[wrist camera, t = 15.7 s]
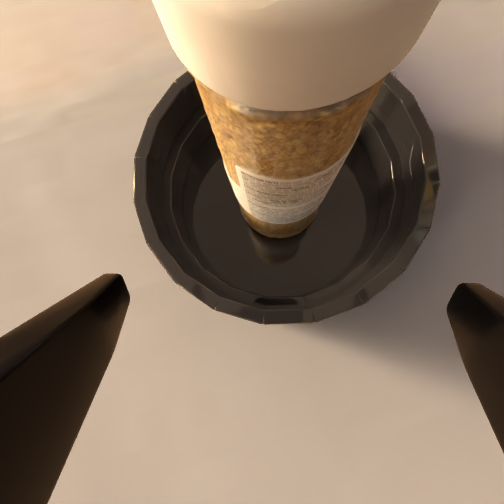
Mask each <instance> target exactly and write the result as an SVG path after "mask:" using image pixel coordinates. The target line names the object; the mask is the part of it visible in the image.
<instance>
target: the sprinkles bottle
mask: <svg viewBox="0 0 504 504" xmlns="http://www.w3.org/2000/svg"><path fill="white" fill-rule="evenodd" d="M152 1H153V3H154V6H155V8H156V11H157V13H158V15H159V18H160V20H161V22H162V25H163V27H164V30H165V32H166V34H167V37H168V39H169V41H170V44H171V46H172V48H173V50H174V51H175V53H176V54H177V56H178V58H179V59H180V60H181V61H182V63H183V64H184V65H185V66H186V68H187V70H188V72H189V73H190V74H191V75H192V76H193V77H194V78H195V82H196V85H197V87H198V90H199V93H200V96H201V98H202V101H203V104H204V109H205V111H206V114H207V116H208V119H209V121H210V124H211V127H212V131H213V133H214V135H215V137H216V141H217V145H218V147H219V149H220V152H221V155H222V158H223V163H224V166H225V170H226V172H227V175H228V178H229V180H230V183H231V186H232V188H233V191H234V193H235V196H236V198H237V199H238V201H239V205H240V210H241V213H242V216H243V218H244V219H245V220H246V222H247V223H248V225H249V226H251V227H252V228H253V229H254V230H255V231H257V232H259V233H260V234H263V235H264V236H267V237H270V238H288V237H291V236H294V235H297V234H299V233H300V232H302V231H303V230H304V229H306V228H307V227H308V226H309V225H310V224H311V223H312V221H313V220H314V218H315V216H316V215H317V212H318V209H319V205H320V204H321V203H322V201H323V199H324V198H325V196H326V194H327V192H328V190H329V189H330V187H331V185H332V183H333V181H334V180H335V178H336V176H337V174H338V172H339V170H340V169H341V167H342V165H343V163H344V161H345V159H346V158H347V156H348V154H349V152H350V150H351V148H352V147H353V145H354V143H355V141H356V139H357V136H358V134H359V131H360V129H361V126H362V123H363V121H364V119H365V117H366V115H367V113H368V110H369V108H370V107H371V105H372V103H373V101H374V99H375V97H376V95H377V93H378V91H379V89H380V87H381V85H382V84H383V82H384V81H385V78H386V76H387V74H388V73H389V72H391V71H392V70H393V69H394V68H395V67H396V66H397V65H398V64H399V63H400V62H401V60H402V59H403V58H404V57H405V56H406V55H407V54H408V53H409V51H410V50H411V48H412V47H413V45H414V44H415V43H416V41H417V40H418V38H419V36H420V35H421V33H422V31H423V29H424V28H425V26H426V24H427V23H428V21H429V19H430V17H431V16H432V14H433V12H434V10H435V9H436V7H437V5H438V3H439V2H440V0H152Z"/></svg>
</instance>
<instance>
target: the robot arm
mask: <svg viewBox="0 0 504 504" xmlns="http://www.w3.org/2000/svg"><path fill="white" fill-rule="evenodd" d="M129 302H130V295H129V292H128V290H127V287H126V284H125V282H124V279H123V277H122V276H121V275H120V274H104V275H102V276H100V277H99V278H97V279H95V280H94V281H92V282H90V283H89V284H87V285H86V286H84V287H82V288H81V289H79V290H77V291H76V292H74V293H72V294H71V295H69V296H68V297H66V298H64V299H63V300H61V301H59V302H58V303H56V304H54V305H53V306H51V307H49V308H48V309H46V310H45V311H43V312H41V313H40V314H38V315H36V316H35V317H33V318H31V319H30V320H28V321H27V322H25V323H23V324H22V325H20V326H18V327H17V328H15V329H13V330H12V331H10V332H9V333H7V334H5V335H4V336H2V337H0V504H47V503H48V501H49V499H50V496H51V494H52V492H53V490H54V487H55V485H56V483H57V480H58V478H59V476H60V474H61V471H62V469H63V467H64V465H65V462H66V460H67V458H68V455H69V453H70V451H71V449H72V446H73V444H74V442H75V439H76V437H77V435H78V433H79V430H80V428H81V426H82V423H83V421H84V419H85V417H86V414H87V412H88V410H89V407H90V405H91V403H92V401H93V398H94V396H95V394H96V392H97V389H98V387H99V385H100V382H101V380H102V378H103V376H104V373H105V371H106V369H107V366H108V364H109V362H110V360H111V357H112V355H113V352H114V350H115V347H116V344H117V341H118V338H119V334H120V331H121V328H122V325H123V322H124V318H125V315H126V312H127V309H128V306H129ZM447 315H448V318H449V321H450V324H451V327H452V330H453V333H454V336H455V339H456V342H457V345H458V348H459V351H460V354H461V358H462V360H463V363H464V366H465V369H466V371H467V373H468V376H469V378H470V380H471V382H472V385H473V387H474V389H475V391H476V393H477V396H478V398H479V400H480V402H481V404H482V407H483V409H484V411H485V413H486V415H487V418H488V420H489V422H490V424H491V426H492V429H493V431H494V433H495V435H496V437H497V440H498V442H499V444H500V446H501V448H502V451H503V453H504V298H503V297H502V296H500V295H498V294H497V293H495V292H493V291H491V290H490V289H488V288H486V287H485V286H483V285H481V284H478V283H461V284H459V285H458V286H457V288H456V289H455V291H454V293H453V295H452V297H451V299H450V301H449V303H448V305H447Z"/></svg>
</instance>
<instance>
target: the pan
mask: <svg viewBox="0 0 504 504" xmlns="http://www.w3.org/2000/svg"><path fill="white" fill-rule="evenodd" d="M439 185H440V175H439V168H438V161H437V154H436V147H435V139H434V136H433V132H432V131H431V129H430V127H429V125H428V123H427V121H426V119H425V117H424V115H423V113H422V111H421V109H420V107H419V105H418V103H417V101H416V100H415V98H414V96H413V95H412V93H411V92H410V91H409V90H408V89H407V88H406V87H405V86H404V85H403V84H402V83H401V82H400V81H399V80H397V79H396V78H395V77H394V76H393V75H392V74H391V73H390V72H389V73H388V74H387V76H386V78H385V81H384V82H383V84H382V85H381V87H380V89H379V91H378V93H377V95H376V97H375V99H374V101H373V103H372V105H371V107H370V108H369V110H368V113H367V115H366V117H365V119H364V121H363V123H362V126H361V129H360V131H359V134H358V136H357V139H356V141H355V143H354V145H353V147H352V148H351V150H350V152H349V154H348V156H347V158H346V159H345V161H344V163H343V165H342V167H341V169H340V170H339V172H338V174H337V176H336V178H335V180H334V181H333V183H332V185H331V187H330V189H329V190H328V192H327V194H326V196H325V198H324V199H323V201H322V203H321V204H320V205H319V209H318V212H317V215H316V216H315V218H314V220H313V221H312V223H311V224H310V225H309V226H308V227H307V228H306V229H304V230H303V231H302V232H300V233H299V234H297V235H294V236H291V237H288V238H270V237H267V236H264V235H263V234H260V233H259V232H257V231H255V230H254V229H253V228H252V227H251V226H249V225H248V223H247V222H246V220H245V219H244V218H243V216H242V213H241V210H240V205H239V201H238V199H237V198H236V196H235V193H234V191H233V188H232V186H231V183H230V180H229V178H228V175H227V172H226V170H225V166H224V163H223V158H222V155H221V152H220V149H219V147H218V145H217V141H216V137H215V135H214V133H213V131H212V127H211V124H210V121H209V119H208V116H207V114H206V111H205V109H204V104H203V101H202V98H201V96H200V93H199V90H198V87H197V85H196V82H195V78H194V77H193V76H192V75H191V74H190V73H189V72H188V71H187V72H186V73H184V74H183V75H182V76H180V77H179V78H178V79H176V80H175V82H173V84H172V85H171V86H170V88H169V89H168V90H167V92H166V93H165V94H164V96H163V97H162V99H161V100H160V101H159V103H158V104H157V105H156V107H155V108H154V109H153V111H152V112H151V114H150V115H149V117H148V119H147V122H146V125H145V128H144V131H143V134H142V137H141V139H140V142H139V145H138V148H137V151H136V154H135V158H134V197H133V200H134V205H135V208H136V211H137V215H138V218H139V221H140V224H141V228H142V231H143V234H144V237H145V240H146V243H147V245H148V247H149V248H150V249H151V251H152V252H153V254H154V255H155V256H156V258H157V259H158V260H159V262H160V263H161V264H162V266H163V267H164V269H165V270H166V271H167V273H168V274H169V275H170V277H171V278H172V280H173V281H175V283H176V284H178V285H179V286H181V287H182V288H183V289H185V290H186V291H188V292H189V293H190V294H192V295H193V296H195V297H196V298H198V299H199V300H200V301H202V302H203V303H205V304H206V305H208V306H209V307H210V308H212V309H215V310H216V311H219V312H222V313H226V314H229V315H232V316H236V317H239V318H242V319H246V320H249V321H252V322H256V323H259V324H297V323H314V322H318V321H321V320H324V319H327V318H329V317H332V316H335V315H337V314H340V313H343V312H346V311H348V310H351V309H354V308H356V307H359V306H362V305H363V304H365V303H367V302H368V301H369V300H370V299H371V298H373V297H374V296H375V295H376V294H378V293H379V292H380V291H381V290H383V289H384V288H385V287H386V286H388V285H389V284H390V283H391V282H392V281H394V280H395V279H396V278H397V277H399V276H400V275H401V274H402V273H403V272H404V271H405V269H406V268H407V266H408V265H409V263H410V261H411V260H412V258H413V256H414V255H415V253H416V252H417V250H418V248H419V247H420V245H421V243H422V242H423V240H424V239H425V237H426V235H427V234H428V232H429V229H430V227H431V223H432V218H433V213H434V209H435V204H436V199H437V194H438V190H439Z"/></svg>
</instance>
